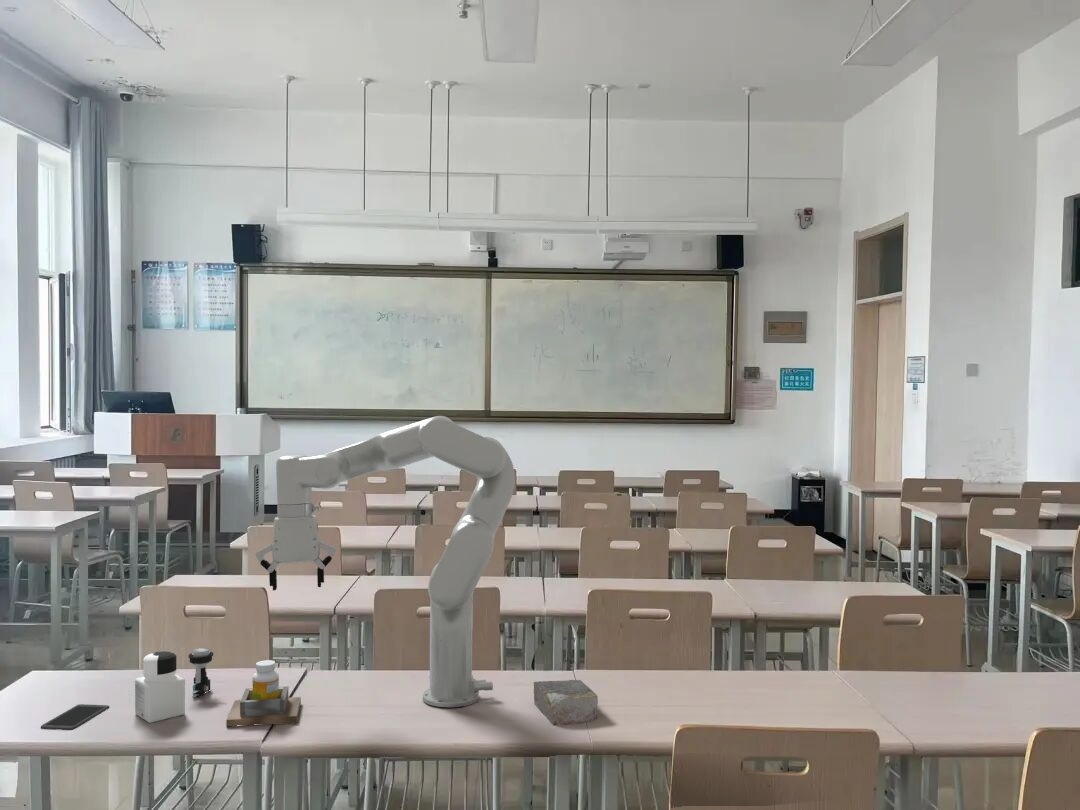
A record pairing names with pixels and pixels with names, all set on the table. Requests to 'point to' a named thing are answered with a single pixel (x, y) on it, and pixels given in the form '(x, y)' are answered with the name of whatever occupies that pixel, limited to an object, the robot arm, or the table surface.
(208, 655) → the push button
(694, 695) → the table surface
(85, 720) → the cell phone
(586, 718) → the geological specimen
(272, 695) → the supplement bottle
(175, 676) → the container
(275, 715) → the collar board
